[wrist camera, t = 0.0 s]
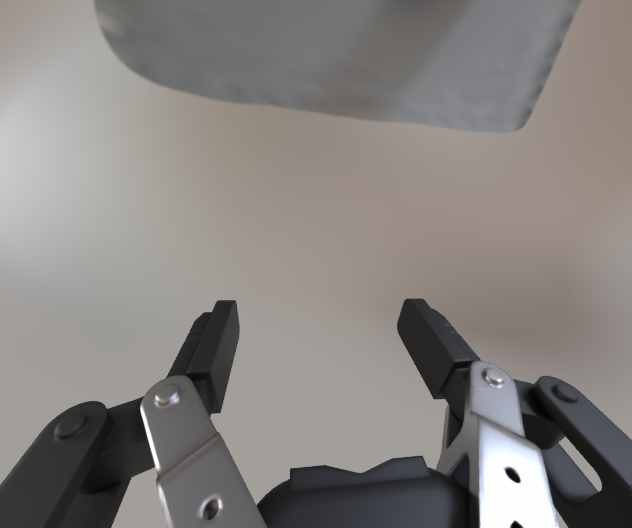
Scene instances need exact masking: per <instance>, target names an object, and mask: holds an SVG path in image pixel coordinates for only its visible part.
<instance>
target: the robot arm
mask: <svg viewBox="0 0 632 528" xmlns="http://www.w3.org/2000/svg"><path fill="white" fill-rule="evenodd" d="M239 330H240V329H239V319H238V312H237V304H236V301H235V300H221V301H217V302H216V304H215V306H214V309H213V311H212V312H204V313H203V314H202V315H201V316H200V317H199V318H198V319H196V320H195V322H194V324H193V326H192V328H191V330H190V333H189V334H188V336H187V338H186V341H185V342H184V344H183V345H182V348H181V349H180V351H179V354H178V356H177V357H176V360H175V361H174V363H173V366H172V368H171V369H170V372H169V373H168V375H167V377H166V378H165V379H163V380H161V381H160V382H158V383H156V384H155V385H154V386H153V387H152V388H150V390H149V391H148V392H147V393H146V394H145V396H143V397H141V398H139V399H136V400H133V401H130V402H127V403H124V404H121V405H118V406H115V407H112V408H109V409H107V408H106V407H105V405H104V404H103V403H101V402H97V401H89V402H85V403H81V404H78V405H76V406H73V407H71V408H69V409H68V410H66V411H65V412H63V413H61V414H60V415H58V416H57V417H56V418H55V419H53V420H52V421H51V422H50V423H49V424H48V425H47V426H46V427H45V428H44V429H43V431H42V432H41V433H40V434H39V435H38V437H37V438H36V439H35V441H34V442H33V443H32V445H31V446H30V447H29V448H28V450H27V451H26V452H25V454H24V455H23V456H22V458H21V459H20V460H19V462H18V463H17V464H16V465H15V467H14V468H13V469H12V471H11V472H10V473H9V474H8V476H7V477H6V478H5V480H4V481H3V482H2V483H1V485H0V528H111V526H112V524H113V522H114V519H115V516H116V514H117V512H118V509H119V507H120V504H121V502H122V500H123V497H124V495H125V492H126V490H127V487H128V485H129V482H130V480H131V477H133V476H135V475H138V474H140V473H142V472H144V471H147V470H149V469H152V468H154V467H156V470H157V476H158V478H157V479H156V484H157V490H158V494H159V498H160V502H161V506H162V510H163V514H164V518H165V521H166V526H167V528H558V524H557V519H556V515H555V510H554V507H555V508H556V509H557V511H558V512H559V514H560V515H561V517H562V519H563V520H564V522H565V523H566V524H567V526H568V528H632V440H631V439H629V437H628V436H626V434H624V433H623V432H622V431H621V430H620V429H619V428H618V427H617V426H616V425H615V424H614V423H613V422H612V421H611V420H610V419H608V418H607V417H606V416H605V415H604V414H603V413H602V412H601V411H600V410H599V409H598V408H597V407H595V405H594V404H592V402H590V401H589V400H588V399H587V398H586V397H585V396H584V395H583V394H582V393H581V392H580V391H578V390H577V389H575V388H574V387H573V386H571V385H570V384H568V383H566V382H564V381H562V380H560V379H557V378H555V377H550V376H542V377H540V378H539V379H538V380H537V382H536V383H535V384H531V383H527V382H523V381H518V380H515V379H512V378H511V377H510V376H509V375H508V374H507V373H506V372H505V371H504V370H502V369H501V368H499V367H498V366H496V365H494V364H492V363H489V362H485V361H481V360H480V358H479V357H478V356H477V355H476V354H475V353H474V352H473V350H472V349H471V348H470V347H469V346H468V344H467V343H466V342H465V341H464V340H463V338H462V337H461V336H460V335H459V334H457V331H456V330H455V329H454V328H453V327H452V326H451V324H450V323H449V322H448V320H447V319H446V318H445V317H444V316H443V315H441V314H440V313H439V312H437V311H436V310H434V309H431V308H430V306H429V305H428V304H427V303H426V301H425V300H424V299H406V300H405V301H404V304H403V307H402V310H401V313H400V316H399V319H398V323H397V330H398V333H399V335H400V337H401V339H402V341H403V343H404V345H405V347H406V349H407V350H408V352H409V354H410V356H411V358H412V359H413V361H414V363H415V365H416V367H417V369H418V371H419V372H420V374H421V376H422V378H423V380H424V381H425V384H426V385H427V387H428V389H429V391H430V393H431V395H432V397H433V398H434V399H446V401H447V402H448V405H447V407H446V412H445V421H444V431H443V440H442V450H441V455H440V459H439V461H438V464H437V467H436V470H434V469H432V468H429V467H427V465H426V463H425V460H424V458H423V456H413V457H403V458H393V459H390V460H388V461H386V462H384V463H382V464H380V465H378V466H376V467H374V468H372V469H370V470H368V471H366V472H364V473H356V472H352V471H347V470H343V469H338V468H334V467H330V466H325V465H323V466H312V467H302V468H291V469H290V479H289V480H287V481H285V482H283V483H281V484H279V485H278V486H276V487H275V488H273V489H272V490H271V491H270V492H269V493H268V494H266V495H265V497H263V499H262V500H261V501H260V502H259V503H258V504H257V505H256V504H255V502H254V500H253V498H252V496H251V494H250V492H249V490H248V488H247V486H246V484H245V482H244V480H243V478H242V476H241V474H240V472H239V470H238V468H237V466H236V464H235V462H234V460H233V458H232V456H231V454H230V452H229V450H228V448H227V446H226V444H225V442H224V440H223V438H222V437H221V435H220V433H219V432H217V431H216V429H215V427H214V425H213V423H212V421H211V419H210V416H211V414H212V413H221V409H222V404H223V400H224V396H225V392H226V388H227V384H228V380H229V376H230V372H231V368H232V364H233V359H234V356H235V352H236V347H237V343H238V339H239ZM565 436H566V437H567V438H568V439H569V440H570V442H571V443H572V444H573V445H574V446H575V448H576V449H577V450H578V451H579V452H580V454H581V455H582V456H583V457H584V458H585V459H586V460H587V462H588V463H589V464H590V465H591V466H592V467H593V468H594V470H595V471H596V472H597V474H598V475H599V477H600V479H601V482H602V490H601V491H600V492H598V491H597V489H596V488H595V487H594V486H593V485H592V483H591V482H590V481H589V480H588V478H587V477H586V476H585V475H584V474H583V472H582V471H581V470H580V469H579V467H578V466H577V465H576V464H575V463H574V461H573V460H572V459H571V458H570V456H569V455H568V454H567V453H566V452H565V450H564V449H563V448H562V447H561V445H560V444H559V443H558V442H559V441H560V440H562V439H563V438H564V437H565ZM553 505H554V506H553Z"/></svg>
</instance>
